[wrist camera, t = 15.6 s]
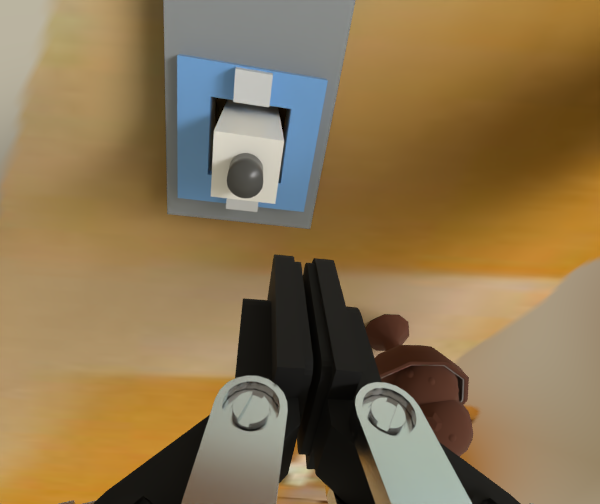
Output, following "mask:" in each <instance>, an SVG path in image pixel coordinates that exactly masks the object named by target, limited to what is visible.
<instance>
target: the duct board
mask: <svg viewBox="0 0 600 504" xmlns="http://www.w3.org/2000/svg"><path fill="white" fill-rule="evenodd" d="M354 5H355V0H164V54H165V109H166V163H167V214H172V215H182V216H191V217H201V218H210V219H220V220H229V221H239V222H248V223H258V224H267V225H277V226H286V227H296V228H305V229H310V227H311V222H312V217H313V212H314V207H315V202H316V197H317V192H318V187H319V182H320V176H321V171H322V166H323V161H324V156H325V151H326V146H327V141H328V136H329V131H330V126H331V121H332V116H333V111H334V106H335V101H336V96H337V91H338V86H339V81H340V76H341V71H342V66H343V60H344V55H345V50H346V45H347V40H348V35H349V30H350V25H351V20H352V15H353V10H354ZM216 97H217V98H223V99H229V100H233V102H237V103H243V104H250V105H256V106H263V107H269V106H275V107H281V108H287V111H286V118H285V125H284V133H283V137H284V146H283V153H282V160H281V167H280V174H279V181H278V188H277V195H276V202H275V204H271V203H263V202H254V201H246V200H237V199H228V198H220V197H211V180H212V159H213V138H214V129H215V111H216Z"/></svg>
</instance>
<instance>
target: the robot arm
mask: <svg viewBox="0 0 600 504" xmlns="http://www.w3.org/2000/svg"><path fill="white" fill-rule="evenodd" d="M296 439H297V445H298V453H299V454H306V465H307V469H315V473H316V475H317V476H318V477H319V478H320V479H321V480H322V481H323V482H324V483H325V484H326V486H325V489H326V497H327V501H328V504H520V503H519V502H518V501H517V500H516V499H515V498H513V497H512V496H511V495H510V494H509V493H507V492H506V491H504V490H503V489H502V488H501V487H499V486H498V485H497V484H495V483H494V482H493V481H491V480H490V479H489V478H487V477H486V476H485V475H483V474H482V473H480V472H479V471H478V470H476V469H475V468H474V467H472V466H471V465H470V464H468V463H467V462H466V461H464V460H463V459H462V458H460V457H459V456H458V455H456V454H455V453H454V452H452V451H451V450H450V449H448V448H447V447H446V446H444V445H443V444H442V443H440V442H439V441H438V440H437V438H436V436H435V434H434V432H433V430H432V429H431V427H430V425H429V423H428V421H427V419H426V418H425V416H424V414H423V412H422V410H421V408H420V407H419V405H418V404H417V403H416V401H415V400H414V398H412V397H411V396H410V395H409V394H408V393H407V392H406V391H404V390H402V389H401V388H399V387H397V386H395V385H392V384H388V383H383V382H382V381H381V378H380V375H379V371H378V368H377V365H376V362H375V358H374V355H373V352H372V349H371V345H370V342H369V339H368V336H367V332H366V329H365V326H364V323H363V319H362V316H361V313H360V311H359V309H358V308H355V307H346V305H345V301H344V297H343V294H342V290H341V286H340V282H339V279H338V275H337V271H336V267H335V263H334V261H333V260H325V259H315V258H314V259H313V261H312V263H306V264H305V268H304V273H303V275H302V267H301V262H294V257H293V256H284V255H274V258H273V265H272V272H271V279H270V286H269V293H268V300H254V299H243V304H242V314H241V324H240V334H239V344H238V355H237V365H236V375H235V379H233V380H231V381H229V382H228V383H226V384H225V385H224V386H223V387H222V388H221V389H220V391H219V393H218V395H217V396H216V398H215V401H214V404H213V407H212V410H211V413H210V415H209V416H208V417H206V418H205V419H204V420H202V421H201V422H199V423H198V424H197V425H195V426H194V427H193V428H191V429H190V430H189V431H187V432H186V433H185V434H183V435H182V436H181V437H179V438H178V439H176V440H175V441H174V442H172V443H171V444H170V445H168V446H167V447H166V448H164V449H163V450H162V451H160V452H159V453H158V454H156V455H155V456H153V457H152V458H151V459H149V460H148V461H147V462H145V463H144V464H143V465H141V466H140V467H139V468H137V469H136V470H135V471H133V472H132V473H130V474H129V475H128V476H126V477H125V478H124V479H122V480H121V481H120V482H118V483H117V484H116V485H114V486H113V487H112V488H110V489H109V490H107V491H106V492H105V493H104V494H103V495H102V496H101V497H100V498H99V499H98V500H97V501H92V502H88V503H83V504H276V501H277V493H278V485H279V483H280V482H281V481H282V480H283V479H284V478H285V476H286V475H287V474H288V471H289V467H290V463H291V459H292V455H293V451H294V447H295V443H296ZM60 504H75V502H74V500H73V501H69V502H64V503H60ZM530 504H532V503H530Z"/></svg>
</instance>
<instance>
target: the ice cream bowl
mask: <svg viewBox="0 0 600 504" xmlns="http://www.w3.org/2000/svg"><path fill="white" fill-rule="evenodd" d="M365 329H366V332H367V336H368V339H369V342H370V345H371V347H372V348H373V349H375V350H376V351H385V352H382V353H380V354H378V355H377V356H376V357H375V362H376V365H377V368H378V371H379V375H380V378H381V381H382V382H383V383H388V384H392V385H395V386H397V387H399V388H401V389H402V390H404V391H406V392H407V393H408V394H409V395H410V396H411V397H412V398H414V400H415V401H416V403H417V404H418V405H419V407H420V408H421V410H422V412H423V414H424V416H425V418H426V419H427V421H428V423H429V425H430V427H431V429H432V430H433V432H434V434H435V436H436V438H437V440H438V441H439V442H440V443H442V444H443V445H444V446H446V447H447V448H448V449H450V450H451V451H452V452H454V453H455V454H456V455H458V456H461V455H462V454H463V453H464V452H466V451H467V450H468V447H469V445H470V443H471V441H472V438H473V429H472V423H471V419H470V415H469V412H468V411H467V409H466V408H465V407H464V405H463V404H464V403H465V402H466V401H467V399H468V381H469V377H468V376H467V375H466V374H465V373H464V372H463V371H462V370H461V369H460V368H459V366H457V365H456V364H455V363H453V362H452V361H450V360H449V359H448V358H446V357H445V356H444V355H442V354H441V353H440V352H438V351H437V350H435V349H434V348H432V347H429V346H421V345H402V344H403V343H404V342H405V340H406V339H407V338H408V337H409V326H408V321H406V320H405V319H404V318H402V317H401V316H400V315H385V314H384V315H382V316H380V317H378V318H376V319H374V320H372V321H370V323H369V324H368V326H367V327H366V328H365Z"/></svg>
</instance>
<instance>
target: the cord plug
mask: <svg viewBox="0 0 600 504" xmlns="http://www.w3.org/2000/svg"><path fill="white" fill-rule="evenodd" d="M283 146H284V137H283V132H282V126H281V121H280V115H279V110H278V107H273V106H269V107H263V106H256V105H250V104H243V103H237V102H233V100H229V99H227V102H226V104H225V106H224V109H223V111H222V113H221V116H220V118H219V120H218V122H217V125H216V127H215V129H214V138H213V159H212V180H211V197H220V198H228V199H237V200H246V201H254V202H263V203H271V204H275V202H276V195H277V188H278V181H279V174H280V167H281V160H282V153H283Z"/></svg>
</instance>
